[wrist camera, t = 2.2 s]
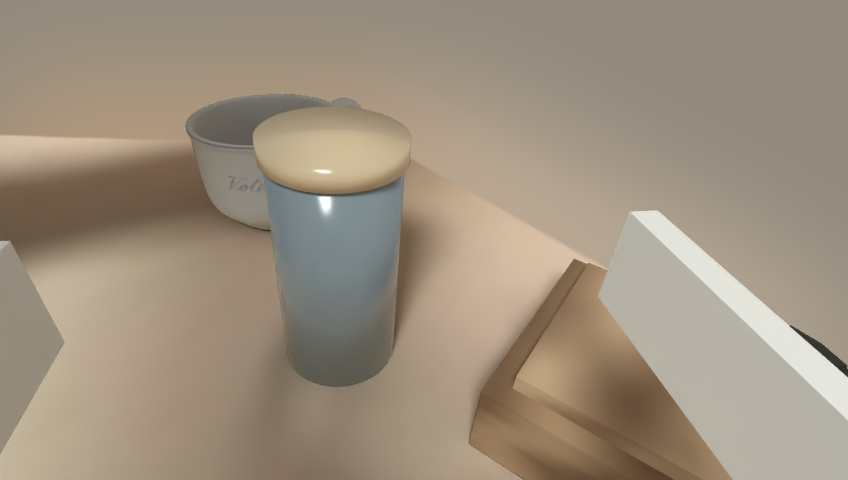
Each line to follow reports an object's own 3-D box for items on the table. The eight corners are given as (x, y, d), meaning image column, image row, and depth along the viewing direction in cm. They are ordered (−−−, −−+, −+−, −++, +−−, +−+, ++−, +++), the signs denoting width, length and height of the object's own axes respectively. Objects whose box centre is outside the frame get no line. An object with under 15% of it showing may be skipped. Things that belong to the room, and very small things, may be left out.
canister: (258, 350, 26) (217, 133, 18) (337, 289, 30) (330, 96, 23) (345, 411, 23) (339, 187, 16) (418, 335, 27) (440, 133, 20)
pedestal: (468, 443, 22) (484, 380, 19) (557, 306, 31) (577, 248, 28) (749, 626, 17) (825, 575, 14) (763, 401, 26) (813, 342, 23)
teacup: (233, 266, 31) (211, 157, 27) (189, 194, 38) (165, 98, 33) (403, 212, 39) (409, 119, 34) (341, 160, 45) (339, 77, 41)
